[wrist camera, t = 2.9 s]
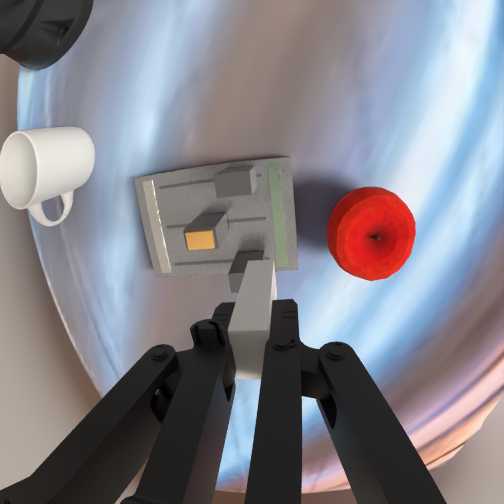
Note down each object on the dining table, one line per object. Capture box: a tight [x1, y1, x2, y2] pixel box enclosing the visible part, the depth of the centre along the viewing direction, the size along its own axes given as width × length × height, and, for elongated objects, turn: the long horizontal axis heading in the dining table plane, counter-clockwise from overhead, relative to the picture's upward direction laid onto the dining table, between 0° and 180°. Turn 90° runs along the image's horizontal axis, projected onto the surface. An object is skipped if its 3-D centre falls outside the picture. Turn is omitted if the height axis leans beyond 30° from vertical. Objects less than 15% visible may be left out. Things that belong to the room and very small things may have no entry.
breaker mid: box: [183, 213, 229, 251], centre depth 27 cm, size 2×3×5 cm, turn 96°
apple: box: [327, 187, 416, 281], centre depth 26 cm, size 9×9×8 cm
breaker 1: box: [213, 166, 257, 198], centre depth 25 cm, size 2×3×5 cm, turn 96°
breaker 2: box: [228, 251, 265, 293], centre depth 28 cm, size 2×3×5 cm, turn 96°
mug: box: [0, 127, 95, 226], centre depth 26 cm, size 9×12×11 cm
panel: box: [134, 157, 298, 277], centre depth 30 cm, size 12×17×2 cm
